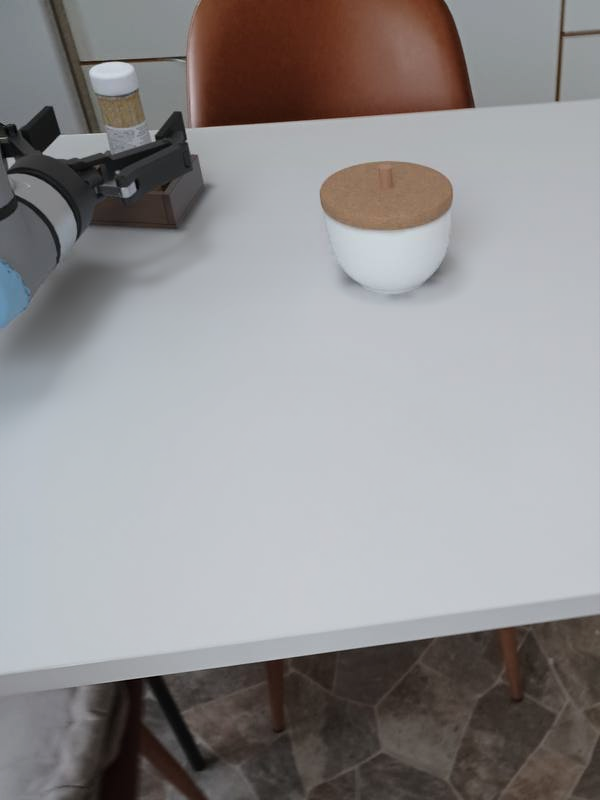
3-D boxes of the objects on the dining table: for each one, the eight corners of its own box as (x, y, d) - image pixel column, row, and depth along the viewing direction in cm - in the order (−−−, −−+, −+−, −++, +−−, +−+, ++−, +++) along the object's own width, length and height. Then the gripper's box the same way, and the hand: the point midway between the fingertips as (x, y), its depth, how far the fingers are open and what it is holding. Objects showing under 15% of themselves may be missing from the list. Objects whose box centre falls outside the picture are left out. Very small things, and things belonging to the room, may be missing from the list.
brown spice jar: (140, 189, 109) (107, 57, 99) (173, 196, 108) (143, 63, 98) (115, 205, 106) (78, 71, 96) (148, 213, 105) (115, 78, 95)
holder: (82, 227, 105) (71, 190, 102) (116, 185, 112) (106, 150, 109) (177, 232, 104) (169, 194, 101) (205, 190, 111) (198, 154, 108)
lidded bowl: (309, 298, 95) (294, 184, 87) (357, 242, 103) (348, 133, 95) (430, 319, 92) (426, 204, 84) (469, 259, 100) (469, 149, 92)
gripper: (163, 176, 82) (227, 87, 96) (-117, 163, 84) (-13, 78, 98) (182, 260, 88) (240, 165, 102) (-81, 247, 89) (13, 155, 103)
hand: (117, 122), depth 100 cm, fingers open, 13 cm apart
